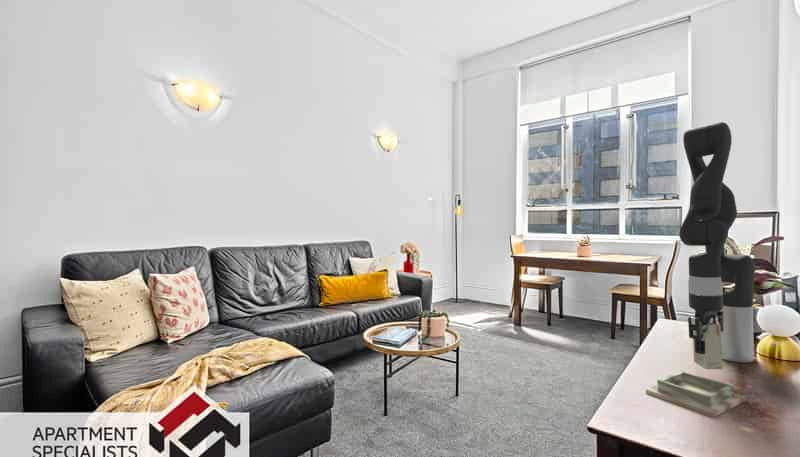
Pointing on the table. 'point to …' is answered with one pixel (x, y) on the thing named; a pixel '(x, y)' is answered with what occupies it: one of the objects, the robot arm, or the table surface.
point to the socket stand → (697, 393)
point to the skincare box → (710, 349)
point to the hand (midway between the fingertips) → (707, 350)
